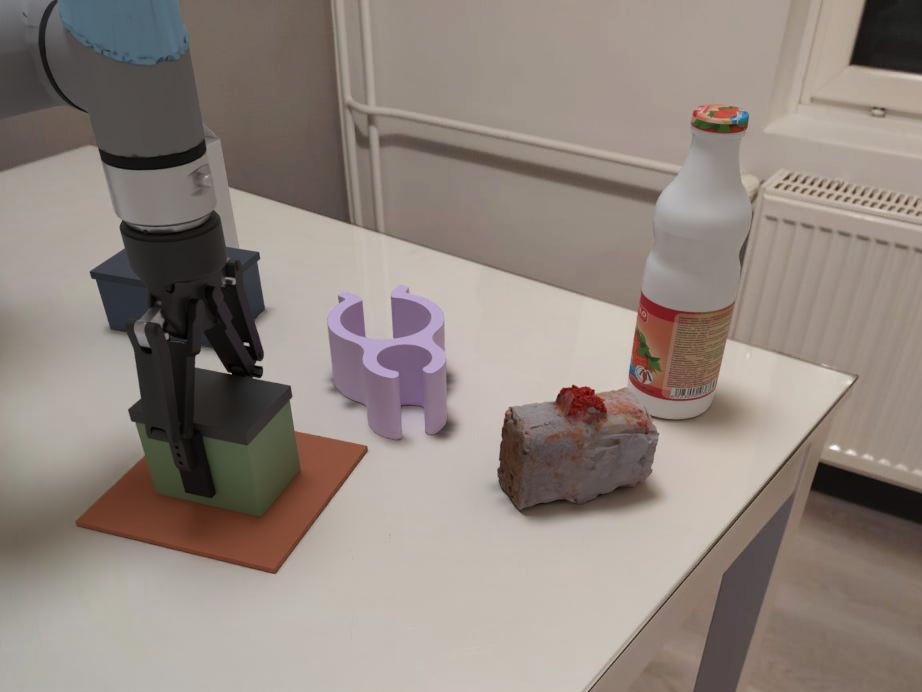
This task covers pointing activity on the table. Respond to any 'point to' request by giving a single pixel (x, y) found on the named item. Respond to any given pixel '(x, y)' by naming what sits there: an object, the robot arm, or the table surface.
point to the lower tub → (129, 293)
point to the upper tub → (232, 442)
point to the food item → (575, 446)
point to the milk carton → (221, 187)
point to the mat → (224, 531)
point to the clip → (391, 361)
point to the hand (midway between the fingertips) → (225, 465)
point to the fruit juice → (692, 271)
